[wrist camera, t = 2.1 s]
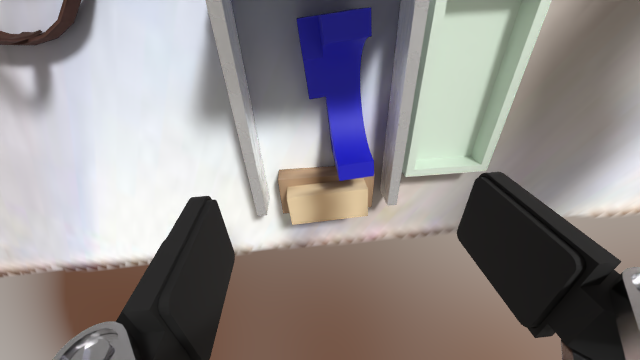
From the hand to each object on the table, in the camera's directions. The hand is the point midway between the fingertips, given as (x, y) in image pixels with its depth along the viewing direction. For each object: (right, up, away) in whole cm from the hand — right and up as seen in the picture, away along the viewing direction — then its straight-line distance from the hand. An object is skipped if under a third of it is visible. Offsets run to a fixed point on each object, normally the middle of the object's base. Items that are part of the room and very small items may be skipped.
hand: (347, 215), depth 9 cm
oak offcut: (0, 0, +18) cm, 18 cm away
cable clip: (0, +10, +14) cm, 17 cm away
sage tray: (+12, +10, +14) cm, 21 cm away
